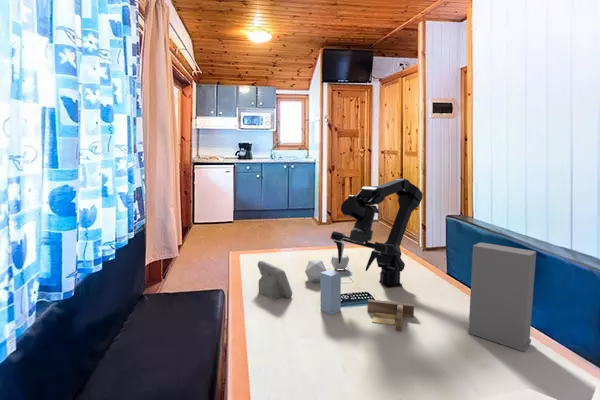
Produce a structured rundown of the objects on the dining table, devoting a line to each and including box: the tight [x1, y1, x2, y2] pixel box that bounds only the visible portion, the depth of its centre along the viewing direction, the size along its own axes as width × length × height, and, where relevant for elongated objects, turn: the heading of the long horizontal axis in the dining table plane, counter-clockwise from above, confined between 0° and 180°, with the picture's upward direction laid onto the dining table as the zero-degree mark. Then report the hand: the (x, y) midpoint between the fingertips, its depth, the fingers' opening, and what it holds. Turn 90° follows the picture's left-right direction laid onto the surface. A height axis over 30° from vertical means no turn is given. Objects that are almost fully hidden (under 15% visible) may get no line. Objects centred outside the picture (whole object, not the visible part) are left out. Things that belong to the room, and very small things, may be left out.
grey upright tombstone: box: [467, 241, 537, 352], centre depth 99 cm, size 14×6×25 cm, turn 44°
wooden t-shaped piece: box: [366, 298, 415, 333], centre depth 112 cm, size 12×14×4 cm
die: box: [304, 260, 327, 283], centre depth 146 cm, size 8×9×10 cm
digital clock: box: [257, 260, 293, 300], centre depth 134 cm, size 16×9×11 cm, turn 25°
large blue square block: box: [319, 269, 342, 316], centre depth 119 cm, size 4×4×12 cm
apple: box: [330, 253, 350, 270], centre depth 160 cm, size 8×8×7 cm
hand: (352, 267), depth 126 cm, fingers open, 9 cm apart
